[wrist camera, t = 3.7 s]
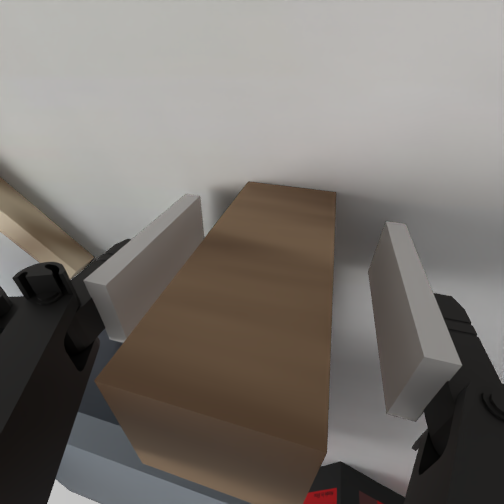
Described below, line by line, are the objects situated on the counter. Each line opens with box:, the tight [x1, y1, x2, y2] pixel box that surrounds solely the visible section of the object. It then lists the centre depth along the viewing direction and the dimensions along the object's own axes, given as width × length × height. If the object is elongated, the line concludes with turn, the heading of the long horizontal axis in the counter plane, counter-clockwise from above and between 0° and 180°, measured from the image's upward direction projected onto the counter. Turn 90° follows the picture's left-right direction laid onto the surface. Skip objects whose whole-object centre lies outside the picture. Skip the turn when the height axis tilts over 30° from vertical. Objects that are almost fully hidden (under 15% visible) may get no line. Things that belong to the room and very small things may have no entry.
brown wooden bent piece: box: [94, 182, 336, 504], centre depth 14 cm, size 18×11×10 cm, turn 178°
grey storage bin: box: [55, 329, 252, 504], centre depth 19 cm, size 13×14×9 cm
